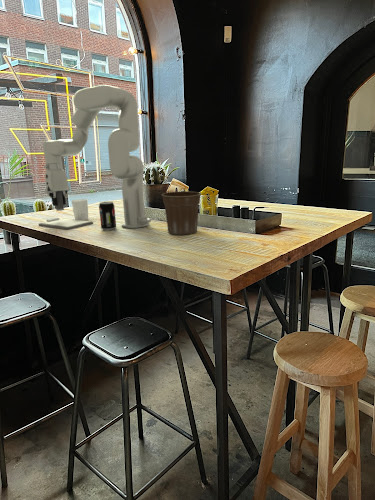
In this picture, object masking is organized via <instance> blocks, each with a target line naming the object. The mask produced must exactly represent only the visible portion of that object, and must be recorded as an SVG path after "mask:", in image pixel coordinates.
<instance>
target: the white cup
mask: <svg viewBox="0 0 375 500" xmlns="http://www.w3.org/2000/svg"><path fill="white" fill-rule="evenodd" d="M71 205H72V212H73V215H74V219H75V220H83V221H88V219H89V202H88V199H87V198H82V199H81V198H79V199H73V200H71Z"/></svg>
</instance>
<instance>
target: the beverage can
mask: <svg viewBox="0 0 375 500" xmlns="http://www.w3.org/2000/svg"><path fill="white" fill-rule="evenodd" d="M98 209H99V210H98V211H99V220H100V228H101V230H103V231H113V230H116V228H117V222H116V221H117V220H116V209H115V204H114V201H102V202H99V205H98Z"/></svg>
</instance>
